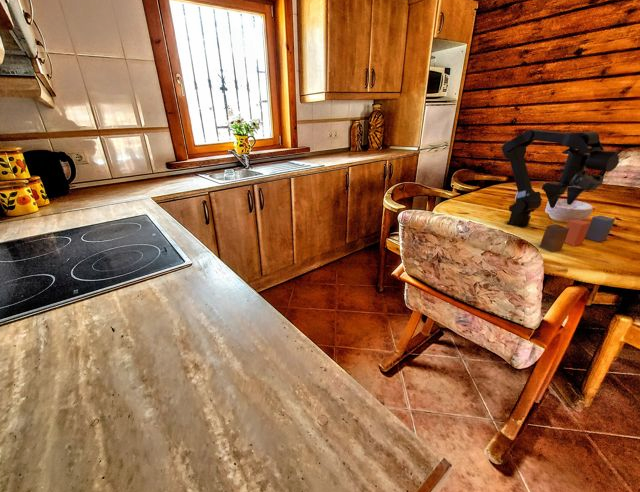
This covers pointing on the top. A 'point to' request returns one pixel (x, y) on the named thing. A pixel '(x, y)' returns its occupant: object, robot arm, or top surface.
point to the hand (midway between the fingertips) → (560, 206)
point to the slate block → (599, 228)
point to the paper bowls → (569, 210)
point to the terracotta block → (576, 232)
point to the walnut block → (554, 237)
